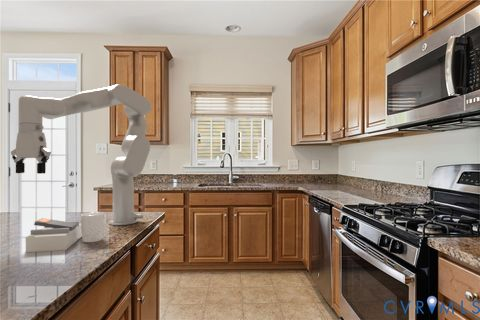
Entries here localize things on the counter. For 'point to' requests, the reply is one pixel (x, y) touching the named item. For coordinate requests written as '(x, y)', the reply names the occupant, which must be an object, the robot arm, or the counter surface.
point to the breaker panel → (52, 238)
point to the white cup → (92, 226)
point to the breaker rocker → (55, 223)
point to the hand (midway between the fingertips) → (30, 173)
